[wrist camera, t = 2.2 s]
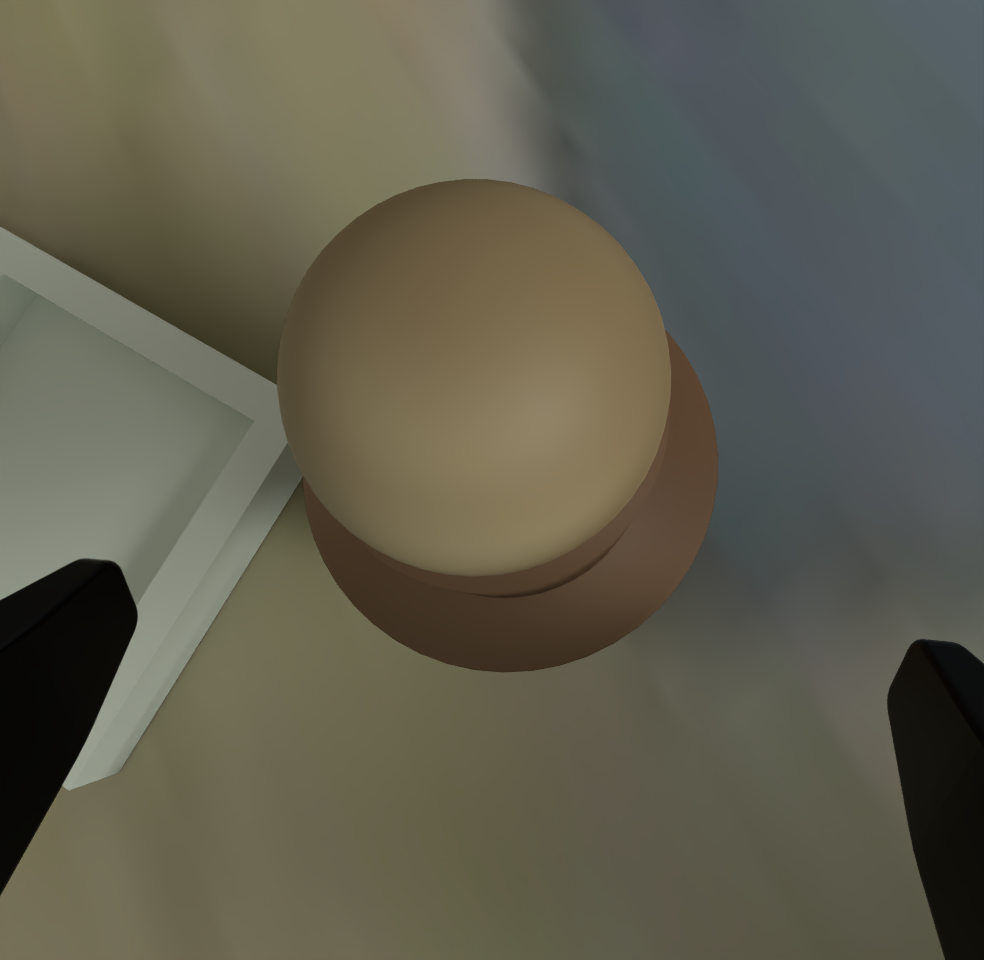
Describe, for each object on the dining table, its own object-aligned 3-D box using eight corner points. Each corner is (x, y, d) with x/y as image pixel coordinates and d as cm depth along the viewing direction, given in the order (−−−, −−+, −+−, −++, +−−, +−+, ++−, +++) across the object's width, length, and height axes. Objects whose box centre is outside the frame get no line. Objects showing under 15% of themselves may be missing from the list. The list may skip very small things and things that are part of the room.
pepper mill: (575, 680, 17) (606, 928, 4) (403, 576, 18) (-91, 460, 4) (673, 504, 17) (1024, 137, 4) (502, 411, 18) (325, -142, 5)
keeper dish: (118, 772, 18) (68, 790, 16) (-167, 565, 19) (-241, 560, 18) (335, 424, 19) (311, 404, 17) (46, 258, 20) (-3, 225, 19)
